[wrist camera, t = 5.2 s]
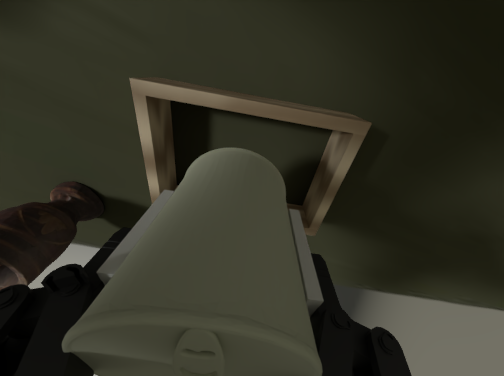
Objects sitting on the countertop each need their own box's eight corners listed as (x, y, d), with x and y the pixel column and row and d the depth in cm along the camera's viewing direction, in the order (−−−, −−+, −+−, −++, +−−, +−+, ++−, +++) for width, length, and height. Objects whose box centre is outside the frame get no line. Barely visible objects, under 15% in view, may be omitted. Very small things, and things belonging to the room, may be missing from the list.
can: (299, 158, 14) (398, 375, 4) (271, 236, 19) (284, 420, 9) (182, 136, 13) (-49, 324, 3) (185, 223, 18) (95, 403, 8)
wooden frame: (157, 77, 20) (129, 78, 16) (349, 113, 21) (371, 123, 17) (169, 190, 28) (153, 210, 24) (307, 212, 29) (314, 235, 25)
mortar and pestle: (42, 152, 26) (-374, 296, 9) (104, 170, 27) (-161, 330, 10) (61, 210, 32) (-166, 361, 15) (112, 223, 33) (-47, 378, 16)
